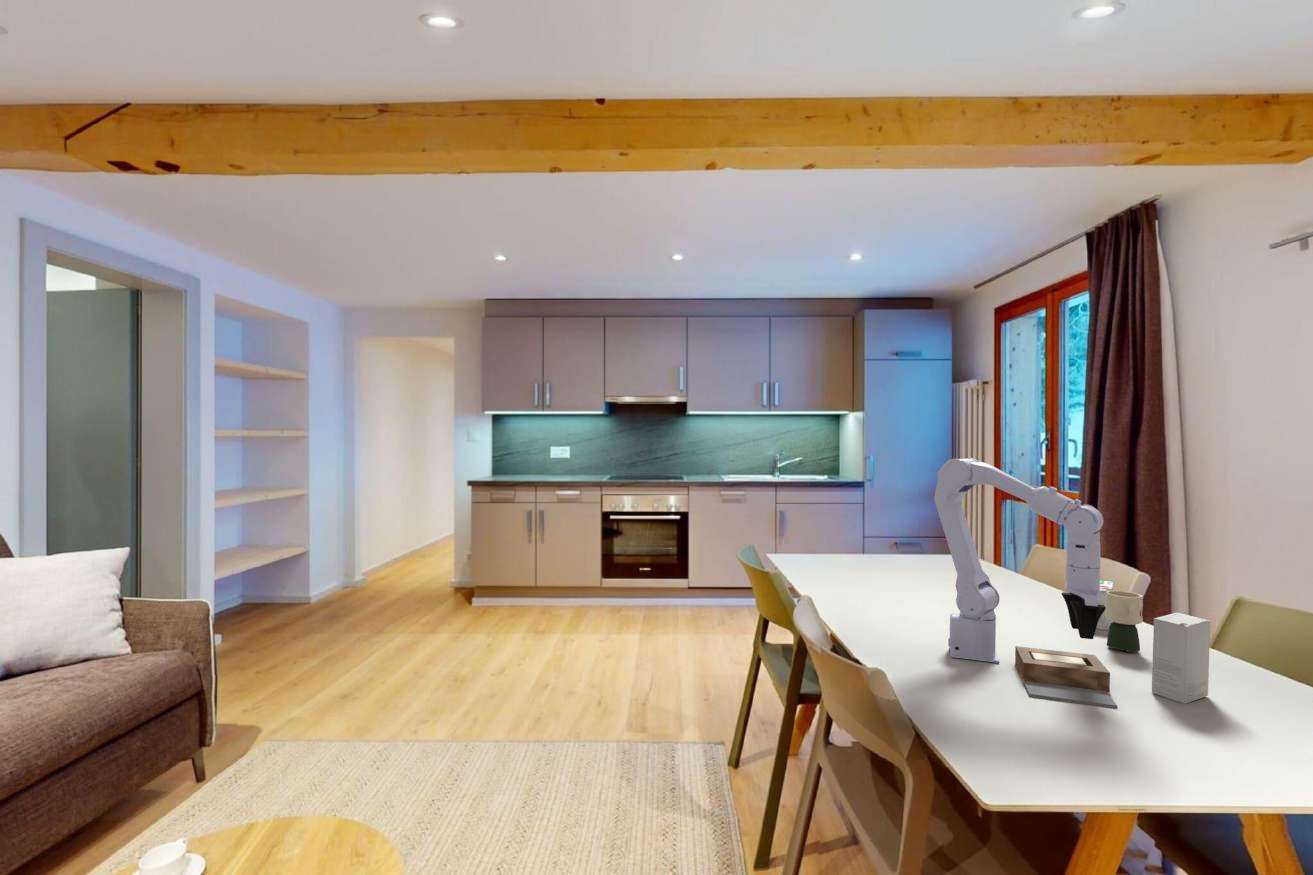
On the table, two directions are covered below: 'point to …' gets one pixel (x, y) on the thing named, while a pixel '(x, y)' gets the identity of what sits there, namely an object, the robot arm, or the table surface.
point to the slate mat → (1069, 694)
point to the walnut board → (1062, 670)
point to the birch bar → (1057, 658)
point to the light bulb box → (1103, 622)
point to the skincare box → (1181, 657)
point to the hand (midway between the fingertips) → (1082, 633)
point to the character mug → (1123, 619)
